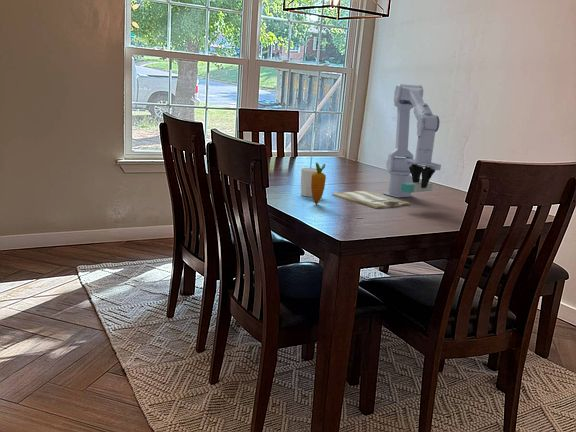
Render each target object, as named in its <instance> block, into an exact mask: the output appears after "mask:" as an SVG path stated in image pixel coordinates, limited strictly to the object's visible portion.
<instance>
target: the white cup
mask: <svg viewBox="0 0 576 432" xmlns="http://www.w3.org/2000/svg"><path fill="white" fill-rule="evenodd" d="M315 172H317V170H316V167H315V168H313V167H302V168H300V195H301V196H303V197H310V198H311V197H312V189H311V180H312V174H313V173H315ZM321 173H323V171H322V172H321ZM312 198H313V197H312Z"/></svg>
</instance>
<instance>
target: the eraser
mask: <svg viewBox="0 0 576 432" xmlns="http://www.w3.org/2000/svg"><path fill="white" fill-rule="evenodd" d="M432 190H433V183H432V182H430V181H429V182H428V184H427V187H426V188H421V181H419V182H415V183H402V187H401V191H402V192H406V193H411V194H412V193H421V192H432Z"/></svg>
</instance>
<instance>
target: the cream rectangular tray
mask: <svg viewBox="0 0 576 432" xmlns="http://www.w3.org/2000/svg"><path fill="white" fill-rule="evenodd" d="M331 196H334V197H336V198H340V199H343V200H346V201H350V202H353V203H356V204H360V205H363V206H366V207H369V208H373V209H386V208H387V209H388V208H396V207H404V206H410V205H411V202H409V201H405V200H400V199H398V198H395V197H391V196H388V195H384V194H383V195H382V194H379V193H375V192H371V191H367V190H357V191H344V192H332V193H331Z"/></svg>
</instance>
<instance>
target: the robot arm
mask: <svg viewBox="0 0 576 432" xmlns="http://www.w3.org/2000/svg"><path fill="white" fill-rule="evenodd" d="M423 97H424V88H423V86H422V84H420V85H419V84H418V85H416V84H415V85H414V84H406V83H405V84H404V83H398V84H397V85H396V86H395V89H394V96H393V102H394V103H393V106H395V107H396V108H397V114H396V115H397V117H396V132H395V133H396V134H395V149H393V150H392V151H390V152H389V153H388V156H387V160H386V170H387V172H388V173H389V179H388V188H387V189H388V190H387V191H386V192H383V193H382V194H383V195H384V196H388V197H392V198H395V199H398V198H408V197H410V198H411V197H413V194H412V193H406V192H402V191H401V187H402V183H415V182H421V188H426V187H427V184H428V182H429V183H430V179H432V176H433V175H434V173H435V172H436V171H441V168H442V164H439V163H436V162H432V159H433V154H434V153H433V151H434V147H435V144H434V143H435V136H436V132H438V130H439V128H440V118H439V116H438V115H436V114H433V112H432V110H431V108H430V105H429V104H428V103H426V102H424V99H423ZM412 109H413V114H414V116H415V119H416V120H417V122H416V135H417V143H416V151H415V156H414V155H413V153H412V152H411V151H410V150H409V136H410V135H409V133H410V119H411V115H410V114H411V110H412ZM414 157H415V158H414ZM420 179H421V181H420Z"/></svg>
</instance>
